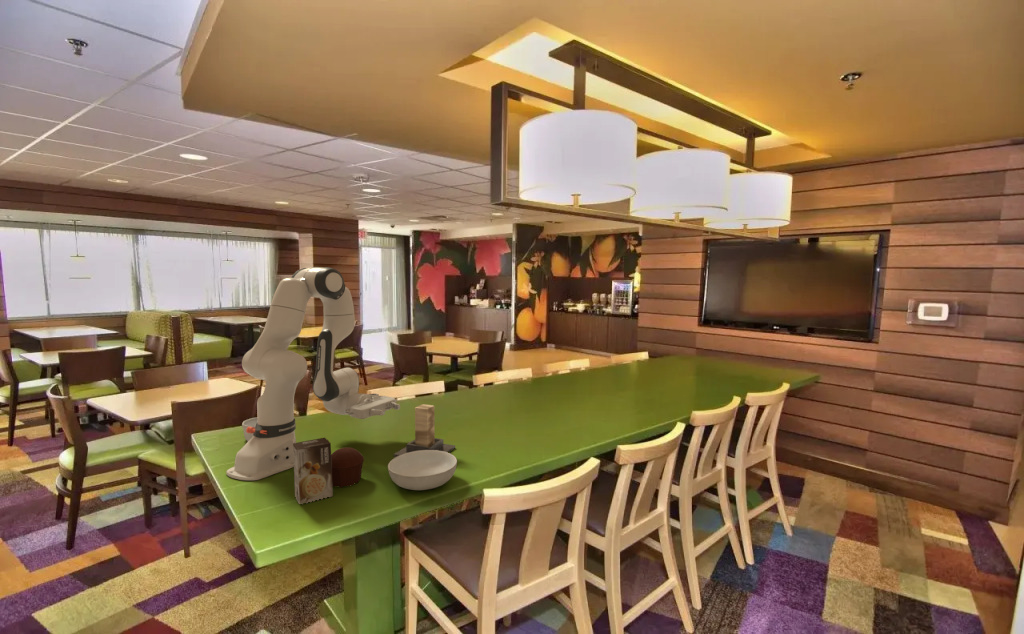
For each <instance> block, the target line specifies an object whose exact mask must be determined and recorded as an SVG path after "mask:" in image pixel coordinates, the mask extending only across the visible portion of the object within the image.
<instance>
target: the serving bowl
mask: <svg viewBox="0 0 1024 634" xmlns="http://www.w3.org/2000/svg"><path fill="white" fill-rule="evenodd" d="M457 464H458V460H457V458H456V456H455V455H453V453H451V452H449V453H448V452H444V451H438V450H420V451H413V452H409V453H405V454H402V455H400V456H397V457H393V459H391V460H390V461H389V462H388V464H387V470H388V475H389V477H390V479H391V481H393V483H395V485H397V486H398V487H401V488H403V489H406V490H411V491H426V490H432V489H436V488H438V487H441V486H443V485H444V484H447V482H448V481H450V480H451V478H452V477H453V476H454V474H455V472H456V469H457Z"/></svg>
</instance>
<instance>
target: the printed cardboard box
mask: <svg viewBox="0 0 1024 634" xmlns="http://www.w3.org/2000/svg"><path fill="white" fill-rule="evenodd" d="M331 454H332V445H331V442H330V441H329V440H328V439H327V438H326V437H320V438H313V439H309V440H305V441H298V442H296V443H293V457H294V467H293V473H294V474H293V476H294V498H295V497H296V498H295V500H296V501H297V503H298V504H302V505H304V504H303V503H306V504H309V503H308V502H310V503H312V501H313V502H316V501H315V500H317V501H320V500H319V499H321V500H323V498H325V499H328V498H327V497H329V498H332V497H333V496H334V495H333V492H334V489H333V487H334V486H333V485H332V462H331Z"/></svg>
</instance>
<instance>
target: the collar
mask: <svg viewBox="0 0 1024 634" xmlns="http://www.w3.org/2000/svg"><path fill="white" fill-rule="evenodd" d="M454 448H455V449H456V445H454V444H447V443H444V439H443V438H437V437H435V443H434V444H433V445H431V446H430V447H426V446H420V445H415V439H413V440H412V441H410V442H408V443H406V446H405V447H403V448H402V449H400V450H397V451H396V452H394V453H393V458H396V457H397V456H400V455H402V454H405V453H409V452H413V451H420V450H438V451H444V452H449V453H451V452H452V451H453V450H455V449H454ZM451 450H452V451H451Z"/></svg>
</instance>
